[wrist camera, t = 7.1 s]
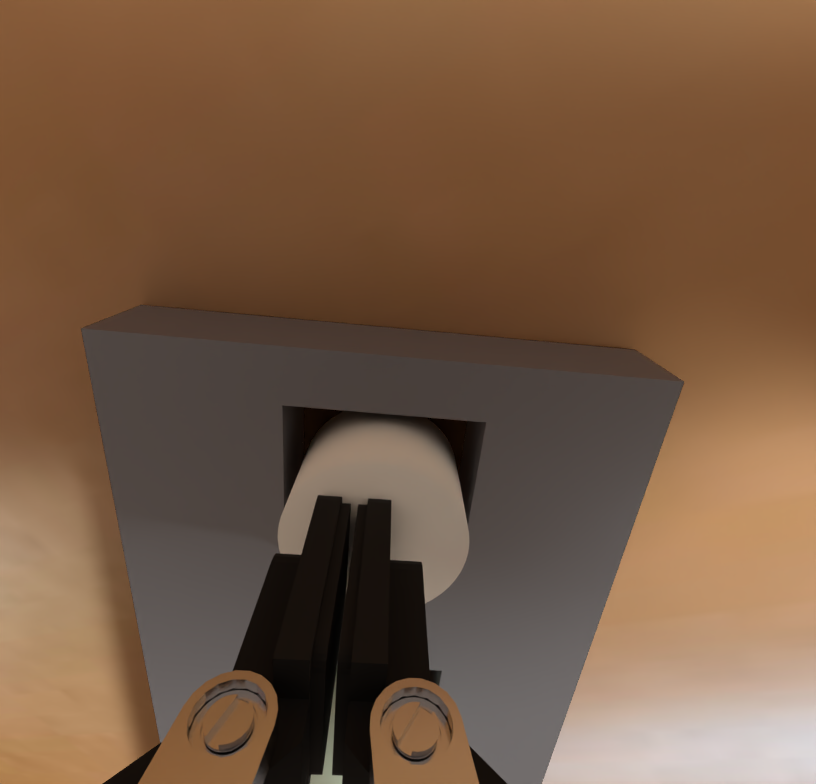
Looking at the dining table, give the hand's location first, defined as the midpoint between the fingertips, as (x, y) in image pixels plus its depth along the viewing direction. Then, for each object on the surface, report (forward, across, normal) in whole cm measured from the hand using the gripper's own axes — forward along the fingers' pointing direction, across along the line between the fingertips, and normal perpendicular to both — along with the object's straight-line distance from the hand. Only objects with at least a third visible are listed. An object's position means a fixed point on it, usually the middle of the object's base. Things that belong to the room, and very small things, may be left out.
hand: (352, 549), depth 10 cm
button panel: (+4, -1, +9) cm, 10 cm away
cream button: (+3, -1, 0) cm, 3 cm away
